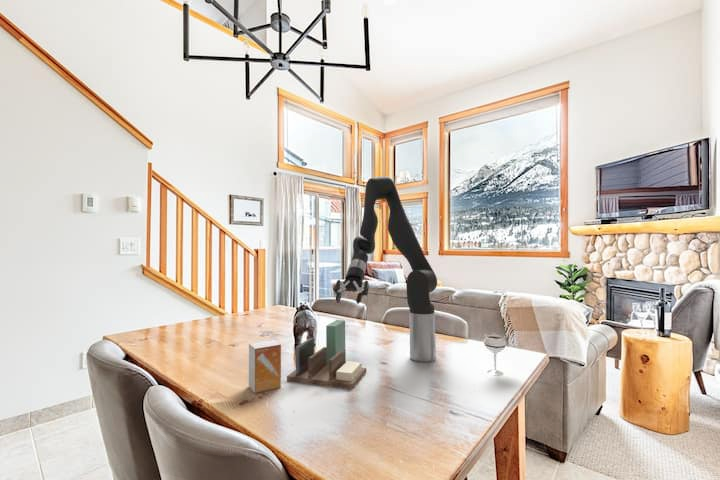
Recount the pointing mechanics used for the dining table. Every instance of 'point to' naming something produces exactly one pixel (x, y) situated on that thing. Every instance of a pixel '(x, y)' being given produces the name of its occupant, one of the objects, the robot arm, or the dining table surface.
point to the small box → (264, 366)
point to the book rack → (325, 371)
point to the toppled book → (349, 371)
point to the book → (335, 338)
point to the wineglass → (495, 348)
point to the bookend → (304, 355)
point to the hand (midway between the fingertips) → (347, 302)
